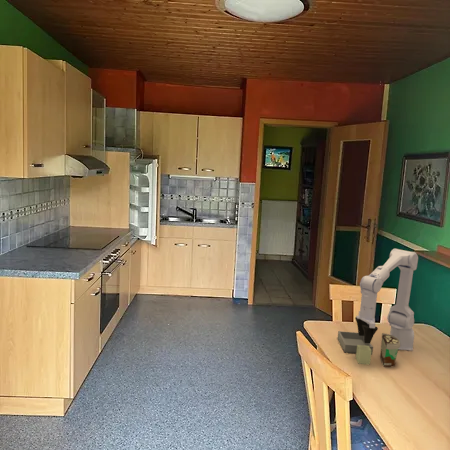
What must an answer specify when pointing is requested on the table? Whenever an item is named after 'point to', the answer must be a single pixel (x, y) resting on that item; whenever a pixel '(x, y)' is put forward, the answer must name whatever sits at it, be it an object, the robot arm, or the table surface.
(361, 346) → the block
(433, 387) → the table surface
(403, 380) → the table surface
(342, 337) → the bin
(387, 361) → the food container
